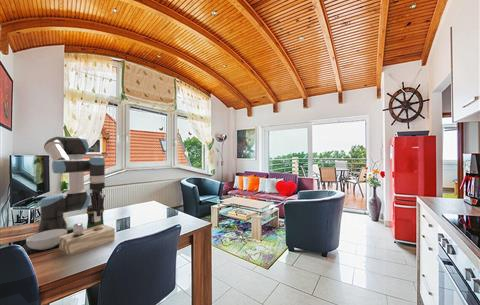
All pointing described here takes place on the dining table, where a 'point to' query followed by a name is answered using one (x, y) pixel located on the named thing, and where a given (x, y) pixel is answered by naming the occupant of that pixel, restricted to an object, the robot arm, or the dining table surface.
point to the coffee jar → (91, 217)
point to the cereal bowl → (45, 239)
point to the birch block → (86, 239)
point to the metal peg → (77, 230)
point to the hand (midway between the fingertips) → (97, 221)
